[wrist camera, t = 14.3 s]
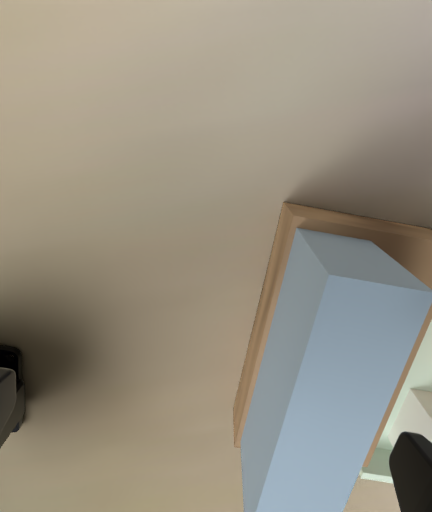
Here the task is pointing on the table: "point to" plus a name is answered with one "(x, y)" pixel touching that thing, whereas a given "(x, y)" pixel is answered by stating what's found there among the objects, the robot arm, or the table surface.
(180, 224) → the table surface
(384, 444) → the tray
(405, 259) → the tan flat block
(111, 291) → the table surface
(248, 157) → the table surface
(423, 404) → the tile
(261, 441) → the long blue block
